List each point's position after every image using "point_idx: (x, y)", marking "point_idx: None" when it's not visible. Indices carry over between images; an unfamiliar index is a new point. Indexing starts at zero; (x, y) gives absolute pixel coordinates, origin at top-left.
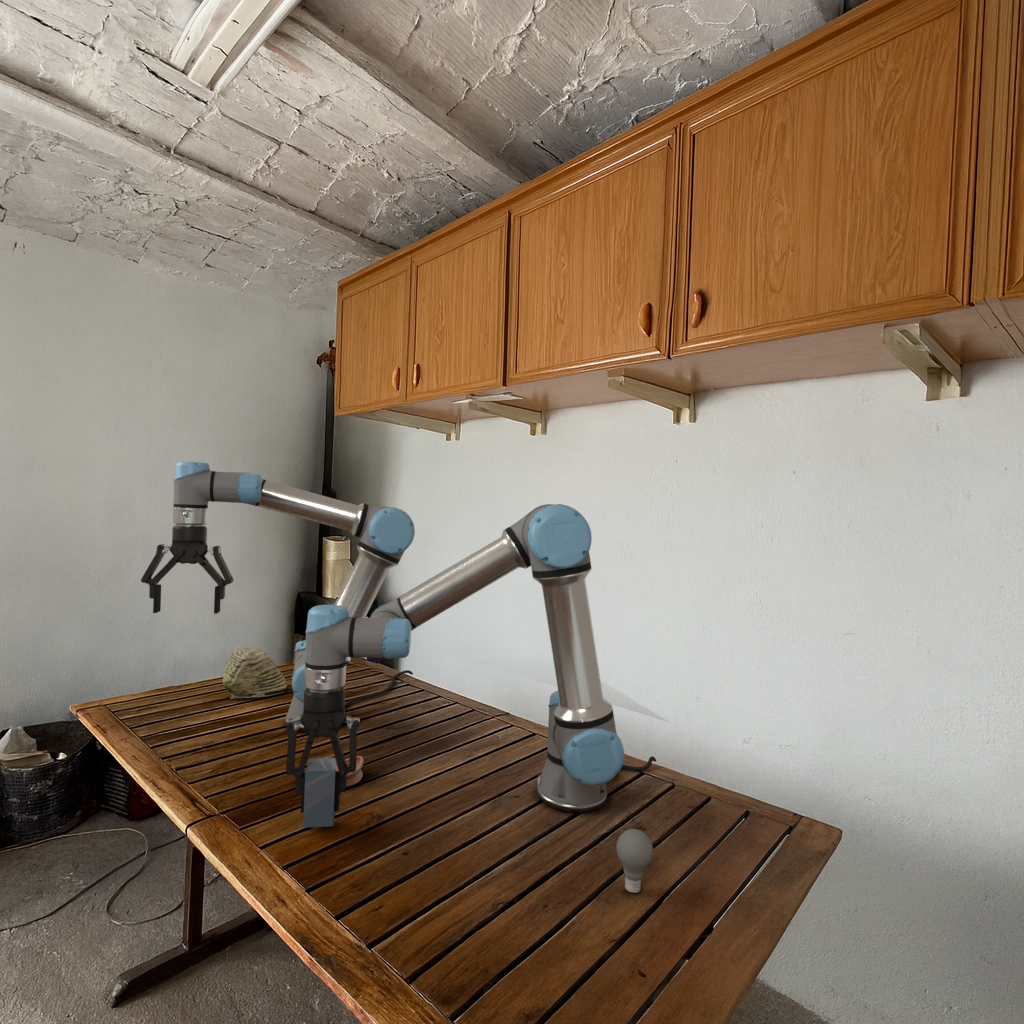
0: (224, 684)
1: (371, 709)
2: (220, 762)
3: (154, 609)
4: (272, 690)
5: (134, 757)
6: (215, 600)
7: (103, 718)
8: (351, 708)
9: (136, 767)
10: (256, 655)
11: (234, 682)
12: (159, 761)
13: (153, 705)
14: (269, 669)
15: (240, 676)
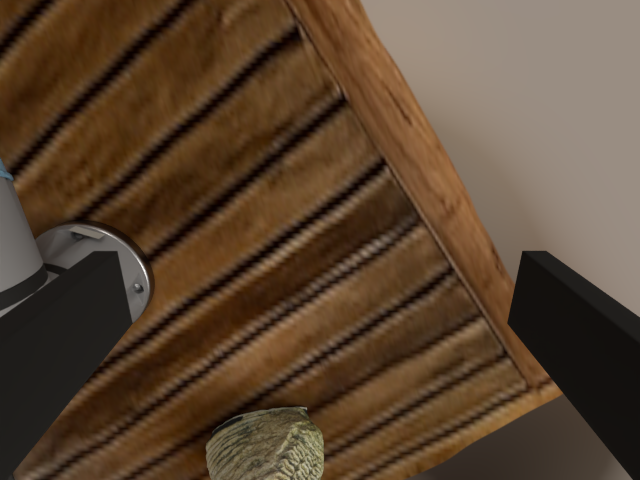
0: (316, 428)
1: None
2: (218, 65)
3: (552, 261)
4: (227, 428)
5: (403, 110)
6: (41, 303)
7: None
8: None
9: (383, 52)
10: None
11: (292, 424)
12: (346, 82)
13: (441, 382)
14: (224, 467)
15: (280, 437)
